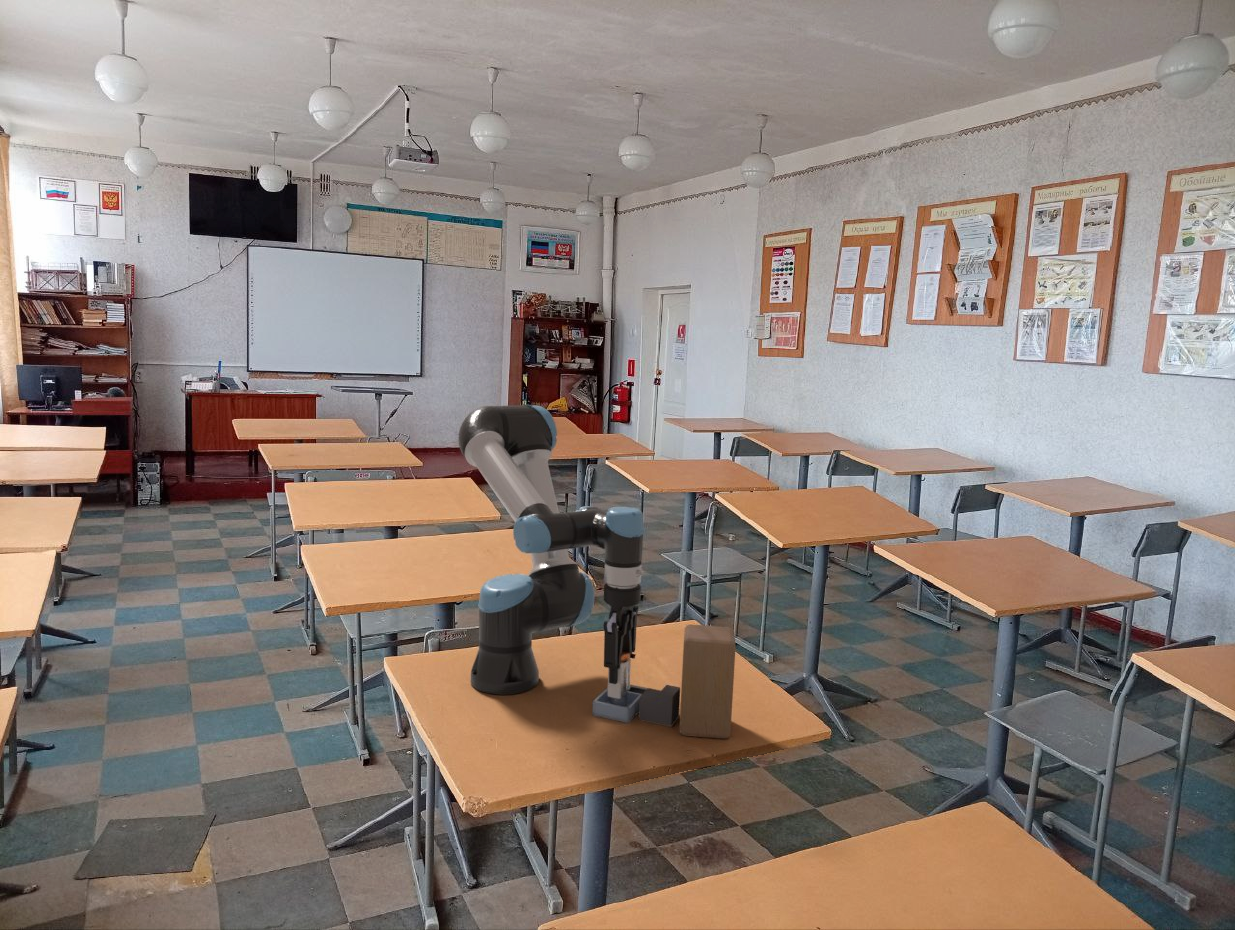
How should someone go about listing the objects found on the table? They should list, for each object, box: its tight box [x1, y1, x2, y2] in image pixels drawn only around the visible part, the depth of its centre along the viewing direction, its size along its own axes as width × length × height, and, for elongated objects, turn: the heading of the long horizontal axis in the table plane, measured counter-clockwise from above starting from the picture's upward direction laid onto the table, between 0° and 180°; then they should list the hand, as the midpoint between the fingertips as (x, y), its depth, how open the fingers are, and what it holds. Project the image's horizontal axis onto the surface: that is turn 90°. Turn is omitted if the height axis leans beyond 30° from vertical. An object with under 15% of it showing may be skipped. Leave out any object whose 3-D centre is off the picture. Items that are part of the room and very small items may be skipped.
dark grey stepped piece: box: [638, 684, 681, 727], centre depth 178 cm, size 7×5×6 cm
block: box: [678, 624, 737, 739], centre depth 173 cm, size 10×10×20 cm
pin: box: [610, 651, 631, 707], centre depth 180 cm, size 4×4×12 cm
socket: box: [628, 684, 649, 694], centre depth 187 cm, size 7×7×2 cm
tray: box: [592, 687, 642, 724], centre depth 180 cm, size 8×8×3 cm
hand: (618, 692), depth 180 cm, fingers open, 4 cm apart
